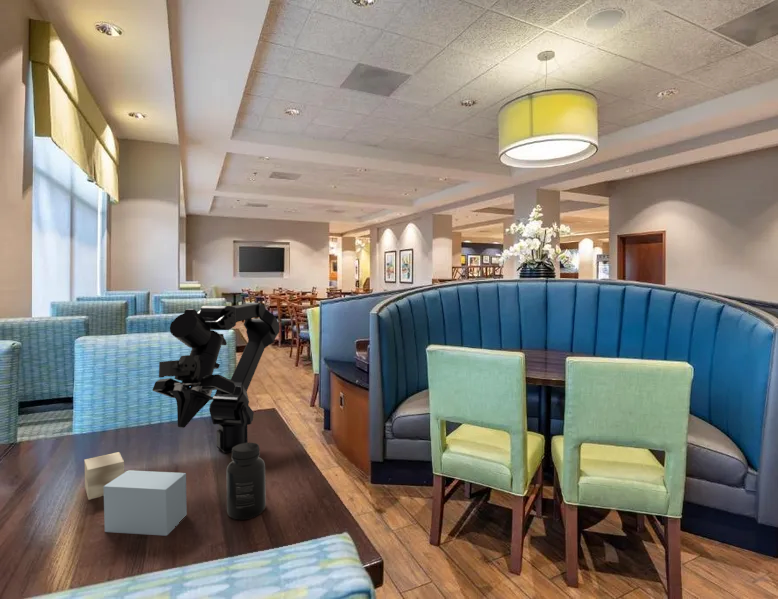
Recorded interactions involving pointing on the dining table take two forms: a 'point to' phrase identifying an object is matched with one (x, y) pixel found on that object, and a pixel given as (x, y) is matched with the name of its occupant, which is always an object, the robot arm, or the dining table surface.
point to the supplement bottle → (245, 482)
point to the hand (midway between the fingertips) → (180, 427)
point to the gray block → (145, 502)
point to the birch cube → (101, 473)
